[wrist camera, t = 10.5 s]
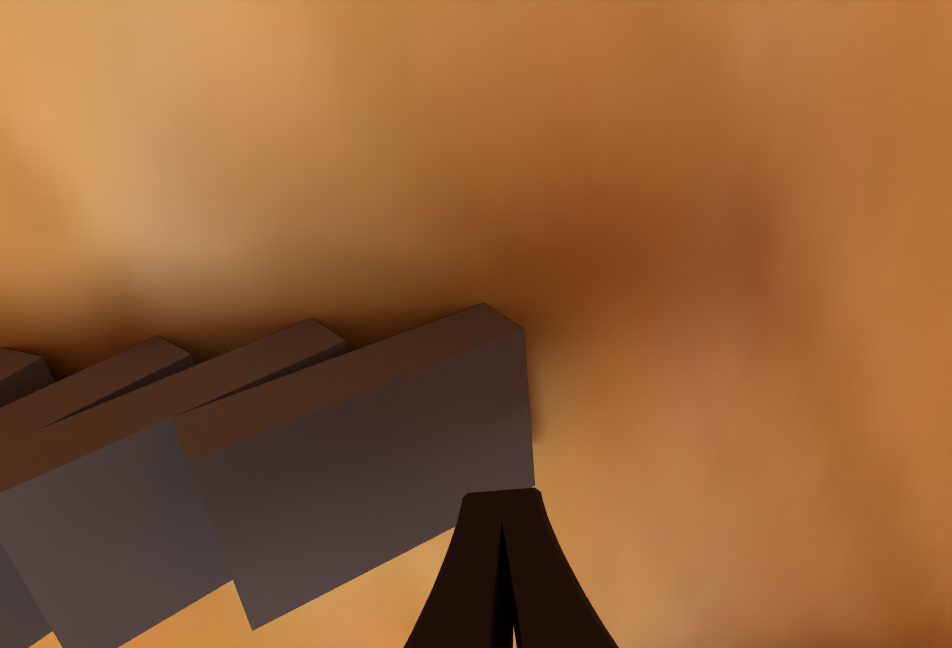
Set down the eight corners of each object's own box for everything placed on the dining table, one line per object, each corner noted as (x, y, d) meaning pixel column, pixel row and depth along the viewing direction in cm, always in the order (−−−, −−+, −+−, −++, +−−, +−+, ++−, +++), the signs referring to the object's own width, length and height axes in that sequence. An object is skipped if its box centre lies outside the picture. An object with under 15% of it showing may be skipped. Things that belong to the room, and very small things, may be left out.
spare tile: (190, 353, 15) (-212, 552, 11) (243, 501, 17) (-77, 718, 13) (157, 335, 16) (-225, 511, 12) (210, 477, 18) (-97, 671, 14)
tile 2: (345, 340, 15) (-23, 503, 11) (378, 492, 17) (77, 671, 13) (311, 318, 16) (-34, 459, 12) (346, 463, 18) (60, 620, 15)
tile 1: (523, 328, 15) (188, 461, 12) (534, 485, 17) (252, 630, 14) (484, 302, 16) (171, 417, 13) (499, 452, 18) (233, 579, 15)
